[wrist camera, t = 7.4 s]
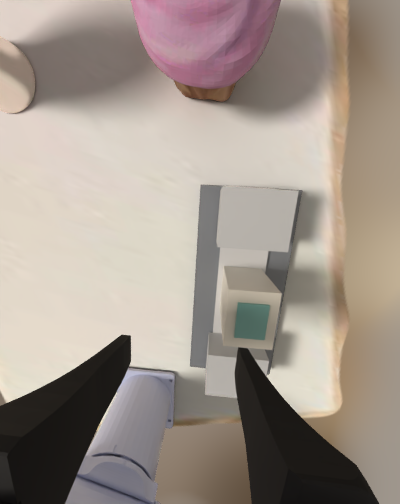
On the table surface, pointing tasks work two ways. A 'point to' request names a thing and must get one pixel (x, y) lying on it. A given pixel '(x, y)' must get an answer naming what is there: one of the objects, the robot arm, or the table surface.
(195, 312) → the rail board
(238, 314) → the block
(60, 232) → the table surface
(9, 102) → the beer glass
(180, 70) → the cupcake
